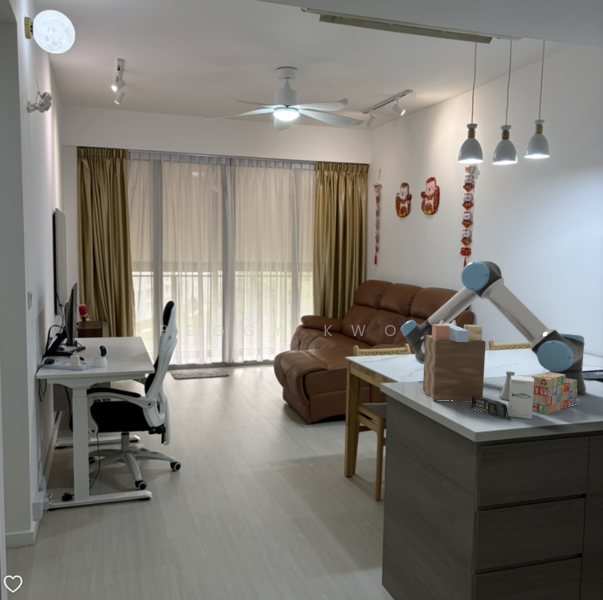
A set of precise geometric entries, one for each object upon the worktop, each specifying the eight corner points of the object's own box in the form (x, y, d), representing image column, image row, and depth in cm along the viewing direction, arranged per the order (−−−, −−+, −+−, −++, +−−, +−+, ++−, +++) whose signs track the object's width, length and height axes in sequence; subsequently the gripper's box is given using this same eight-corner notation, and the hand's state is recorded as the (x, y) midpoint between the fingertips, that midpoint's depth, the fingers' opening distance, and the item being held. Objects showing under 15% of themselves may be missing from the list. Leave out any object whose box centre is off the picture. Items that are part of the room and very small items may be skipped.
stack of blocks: (559, 401, 208) (561, 368, 207) (576, 405, 203) (578, 371, 202) (529, 410, 194) (531, 375, 193) (546, 414, 189) (548, 378, 188)
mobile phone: (470, 395, 193) (507, 404, 181) (476, 394, 195) (513, 403, 182) (469, 410, 193) (506, 420, 181) (475, 408, 195) (512, 419, 183)
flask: (520, 401, 205) (522, 374, 204) (500, 400, 207) (501, 373, 206) (517, 397, 212) (519, 370, 212) (497, 395, 214) (498, 369, 213)
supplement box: (507, 416, 185) (510, 378, 184) (508, 411, 192) (510, 374, 191) (532, 419, 182) (534, 381, 181) (532, 414, 189) (534, 376, 188)
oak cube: (463, 338, 209) (464, 324, 208) (476, 338, 209) (477, 325, 209) (468, 340, 204) (468, 326, 203) (481, 340, 204) (482, 326, 204)
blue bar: (438, 333, 221) (439, 323, 221) (448, 333, 221) (449, 323, 221) (457, 341, 199) (457, 330, 199) (468, 342, 199) (468, 330, 199)
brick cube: (431, 337, 208) (432, 324, 208) (445, 337, 208) (445, 324, 208) (435, 339, 203) (436, 325, 203) (449, 339, 203) (449, 326, 203)
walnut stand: (422, 391, 216) (425, 334, 215) (468, 392, 217) (471, 335, 216) (433, 401, 202) (436, 340, 201) (482, 401, 203) (485, 341, 202)
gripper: (453, 353, 235) (472, 332, 214) (413, 353, 234) (427, 331, 213) (451, 337, 238) (469, 314, 217) (411, 336, 237) (425, 313, 216)
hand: (448, 323), depth 215 cm, fingers closed on blue bar, 4 cm apart
